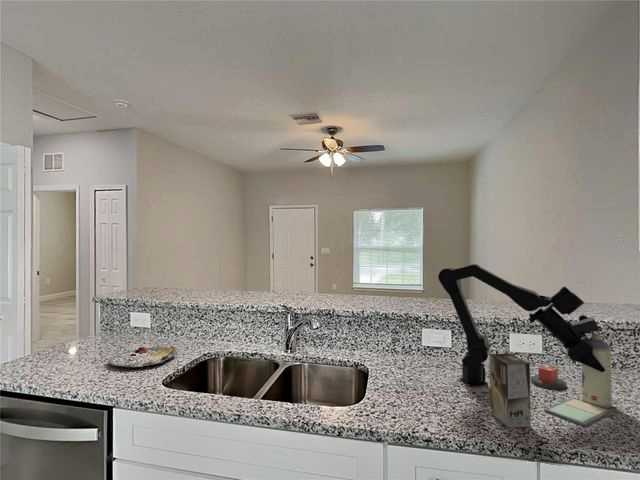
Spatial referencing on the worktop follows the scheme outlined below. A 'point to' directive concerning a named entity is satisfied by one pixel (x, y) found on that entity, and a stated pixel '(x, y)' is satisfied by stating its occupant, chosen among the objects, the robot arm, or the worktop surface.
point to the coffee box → (510, 390)
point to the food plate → (161, 355)
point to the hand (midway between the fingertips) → (602, 367)
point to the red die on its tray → (547, 385)
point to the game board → (577, 411)
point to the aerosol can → (598, 376)
